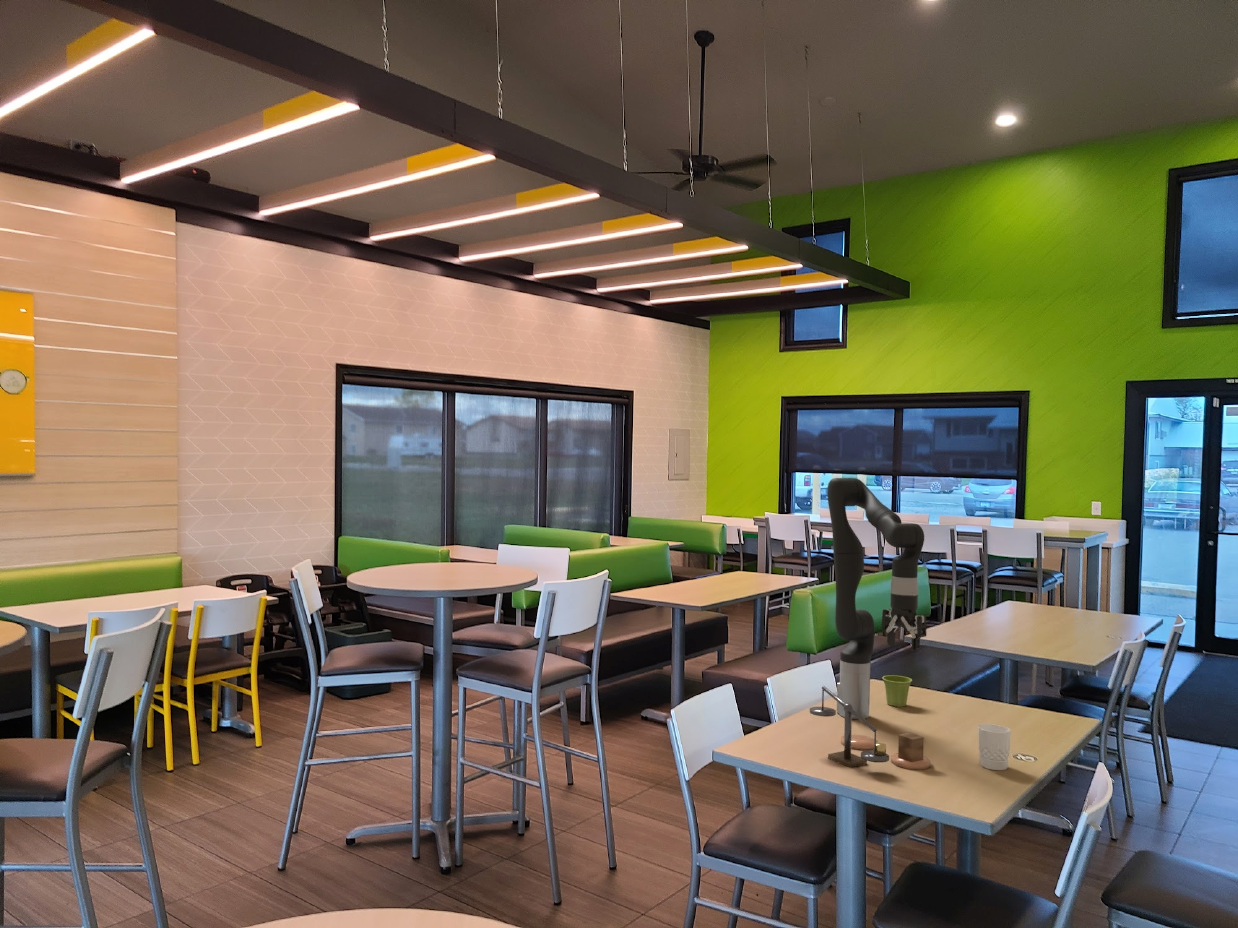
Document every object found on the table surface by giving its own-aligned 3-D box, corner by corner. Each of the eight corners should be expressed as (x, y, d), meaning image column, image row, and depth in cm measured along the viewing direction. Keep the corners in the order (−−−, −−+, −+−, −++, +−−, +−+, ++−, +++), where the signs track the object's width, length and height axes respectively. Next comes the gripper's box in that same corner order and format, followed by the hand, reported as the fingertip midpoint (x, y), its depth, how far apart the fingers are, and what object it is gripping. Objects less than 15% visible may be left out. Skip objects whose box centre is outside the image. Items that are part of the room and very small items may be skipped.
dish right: (882, 760, 233) (882, 755, 233) (908, 754, 238) (908, 750, 238) (913, 771, 224) (913, 767, 224) (938, 765, 230) (938, 761, 230)
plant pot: (916, 708, 287) (917, 681, 287) (889, 708, 286) (889, 682, 286) (903, 700, 296) (904, 675, 296) (877, 701, 295) (877, 675, 295)
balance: (803, 749, 241) (804, 684, 241) (822, 745, 244) (823, 681, 245) (875, 778, 219) (876, 706, 219) (894, 773, 222) (896, 703, 223)
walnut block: (898, 757, 232) (898, 734, 232) (909, 754, 234) (910, 732, 234) (911, 762, 228) (912, 739, 228) (923, 759, 231) (923, 736, 231)
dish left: (833, 741, 248) (833, 737, 248) (858, 736, 253) (858, 732, 253) (860, 751, 240) (860, 747, 240) (885, 746, 245) (885, 742, 245)
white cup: (993, 760, 235) (994, 722, 236) (1016, 769, 228) (1017, 731, 228) (970, 762, 233) (971, 725, 233) (993, 772, 225) (994, 733, 225)
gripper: (876, 589, 257) (875, 645, 257) (915, 596, 245) (914, 654, 245) (893, 588, 261) (892, 642, 261) (933, 594, 249) (932, 651, 249)
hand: (903, 648), depth 253 cm, fingers open, 8 cm apart
